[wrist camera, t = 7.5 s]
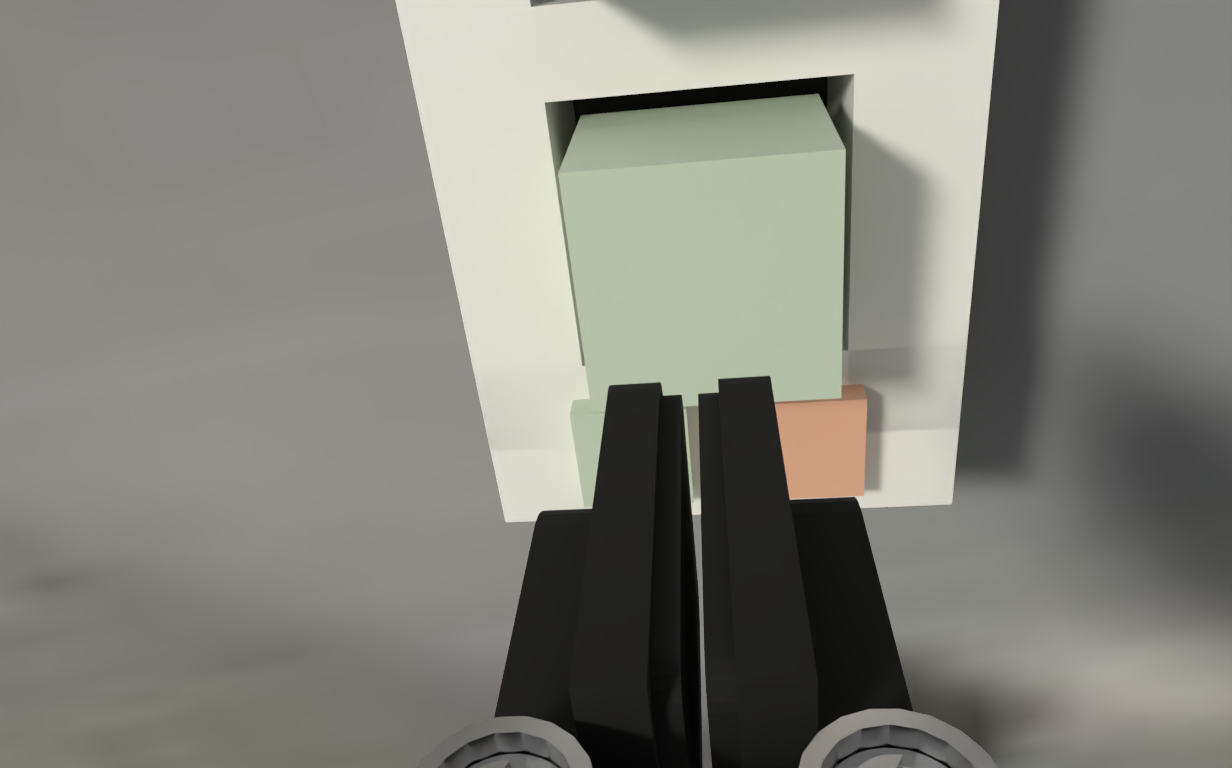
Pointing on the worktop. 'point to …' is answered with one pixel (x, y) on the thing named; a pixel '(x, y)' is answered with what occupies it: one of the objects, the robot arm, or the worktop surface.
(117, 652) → the worktop surface
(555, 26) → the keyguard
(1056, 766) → the worktop surface
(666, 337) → the key sage
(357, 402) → the worktop surface
